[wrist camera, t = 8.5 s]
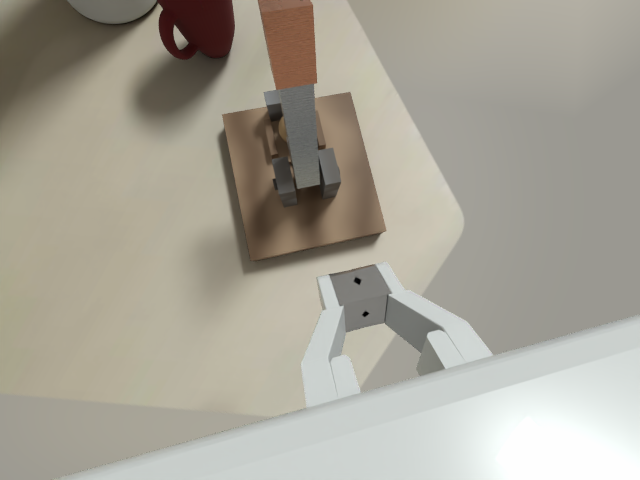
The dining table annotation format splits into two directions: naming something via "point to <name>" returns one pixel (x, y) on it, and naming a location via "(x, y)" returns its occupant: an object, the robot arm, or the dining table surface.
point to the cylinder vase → (112, 9)
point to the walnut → (282, 130)
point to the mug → (198, 26)
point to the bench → (280, 186)
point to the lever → (294, 80)
